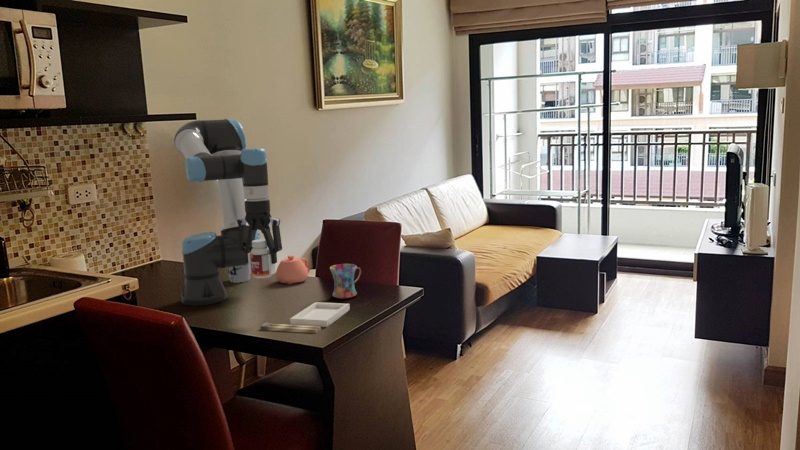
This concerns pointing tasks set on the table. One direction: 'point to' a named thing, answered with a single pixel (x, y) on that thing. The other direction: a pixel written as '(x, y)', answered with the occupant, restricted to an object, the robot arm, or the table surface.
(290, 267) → the pink teapot
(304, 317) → the tray
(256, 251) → the pill bottle
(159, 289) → the table surface
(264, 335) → the table surface
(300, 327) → the tongs
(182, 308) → the table surface
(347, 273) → the mug
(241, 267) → the mug
